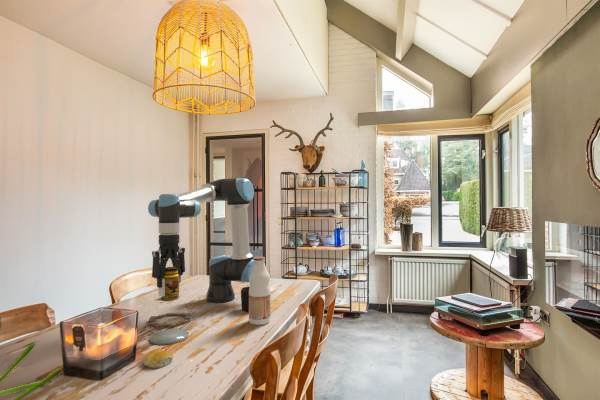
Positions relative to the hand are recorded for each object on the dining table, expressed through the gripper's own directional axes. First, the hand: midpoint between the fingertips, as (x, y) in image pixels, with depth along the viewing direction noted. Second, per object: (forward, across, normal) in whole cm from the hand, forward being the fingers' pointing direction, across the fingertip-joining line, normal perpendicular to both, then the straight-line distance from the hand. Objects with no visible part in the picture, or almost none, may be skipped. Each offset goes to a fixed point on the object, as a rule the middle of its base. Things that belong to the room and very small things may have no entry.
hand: (169, 293), depth 134 cm
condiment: (+2, 0, 0) cm, 2 cm away
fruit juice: (+17, -32, +19) cm, 41 cm away
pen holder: (+17, -44, +4) cm, 47 cm away
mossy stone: (+17, +16, +15) cm, 27 cm away
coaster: (+17, 0, 0) cm, 17 cm away
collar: (+17, -13, -16) cm, 26 cm away
